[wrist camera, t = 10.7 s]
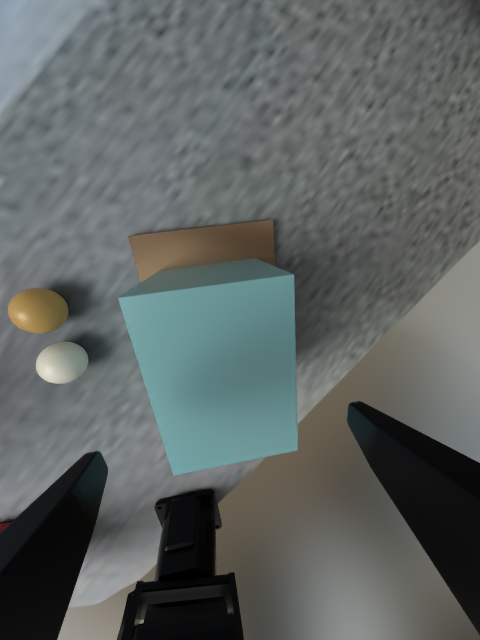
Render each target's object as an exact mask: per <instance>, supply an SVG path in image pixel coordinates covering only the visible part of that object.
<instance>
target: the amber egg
mask: <svg viewBox="0 0 480 640" xmlns="http://www.w3.org/2000/svg"><path fill="white" fill-rule="evenodd" d="M8 314H9V317H10V319H11V321H12V322H13V323H14V324H15V325H16V326H17V327H19V328H20V329H22V330H24V331H27V332H31V333H47V332H51V331H54V330H56V329H58V328H59V327H60V326H62V325H63V324H64V322H65V321H66V319H67V317H68V306H67V303H66V302H65V300H64V299H63V298H62V297H61V296H60V295H59V294H57V293H55V292H53V291H51V290H48V289H42V288H32V289H27V290H24V291H22V292H20V293H18V294H17V295H15V296H14V297H13V298H12V300H11V301H10V303H9V306H8Z"/></svg>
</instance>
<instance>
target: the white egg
mask: <svg viewBox="0 0 480 640" xmlns="http://www.w3.org/2000/svg"><path fill="white" fill-rule="evenodd" d="M87 365H88V355H87V353H86V351H85V350H84V349H83V348H82V347H81V346H79V345H77V344H75V343H72V342H59V343H55V344H52V345H50V346H48V347H46V348H45V349H44V350H43V351H42V352H41V353H40V354H39V356H38V358H37V361H36V370H37V372H38V374H39V375H40V377H41V378H43V379H44V380H46V381H48V382H51V383H55V384H62V383H68V382H71V381H73V380H75V379H77V378H78V377H80V376H81V375H82V374H83V373H84V371H85V370H86V368H87Z"/></svg>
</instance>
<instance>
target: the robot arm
mask: <svg viewBox="0 0 480 640" xmlns="http://www.w3.org/2000/svg"><path fill="white" fill-rule="evenodd" d="M347 421H348V425H349V427H350V429H351V431H352V433H353V435H354V437H355V439H356V440H357V442H358V444H359V446H360V448H361V450H362V451H363V454H364V455H365V457H366V459H367V461H368V463H369V465H370V467H371V468H372V470H373V472H374V473H375V475H376V476H377V478H378V479H379V481H380V483H381V484H382V486H383V487H384V489H385V490H386V492H387V493H388V495H389V496H390V498H391V499H392V501H393V502H394V504H395V506H396V507H397V509H398V510H399V512H400V513H401V515H402V516H403V518H404V519H405V521H406V522H407V524H408V526H409V527H410V529H411V530H412V532H413V533H414V534H415V536H416V538H417V539H418V541H419V543H420V544H421V546H422V547H423V549H424V550H425V552H426V553H427V555H428V556H429V558H430V559H431V561H432V562H433V564H434V566H435V567H436V568H437V570H438V572H439V573H440V575H441V576H442V578H443V579H444V581H445V583H446V584H447V586H448V587H449V588H450V590H451V592H452V593H453V595H454V596H455V598H456V599H457V601H458V602H459V604H460V605H461V607H462V609H463V610H464V611H465V613H466V615H467V616H468V618H469V619H470V621H471V622H472V624H473V626H474V627H475V629H476V630H477V632H478V633H479V635H480V463H479V462H476V461H475V460H473V459H471V458H469V457H467V456H465V455H463V454H461V453H459V452H457V451H456V450H454V449H452V448H450V447H448V446H446V445H444V444H442V443H440V442H438V441H436V440H434V439H432V438H430V437H429V436H427V435H425V434H423V433H421V432H419V431H417V430H415V429H413V428H411V427H409V426H407V425H405V424H404V423H402V422H400V421H398V420H396V419H394V418H392V417H390V416H388V415H386V414H384V413H382V412H380V411H378V410H377V409H374V408H373V407H371V406H368V405H367V404H365V403H363V402H360V401H357V402H352V403H350V404H349V406H348V417H347ZM107 475H108V467H107V465H106V463H105V460H104V458H103V456H102V454H101V452H99V451H95V452H90V453H86V454H85V455H83V456H82V457H81V458H80V459H79V460H78V461H77V462H76V463H75V464H74V465H73V466H71V467H70V468H69V469H68V470H67V471H66V472H65V473H64V474H63V475H62V476H61V477H60V478H59V479H58V480H56V481H55V482H54V483H53V484H52V485H51V486H50V487H49V488H48V489H47V490H46V491H45V492H44V493H43V494H41V495H40V496H39V497H38V498H37V499H36V500H35V501H34V502H33V503H32V504H31V505H30V506H29V507H28V508H26V509H25V510H24V511H23V512H22V513H21V514H20V515H19V516H18V517H17V518H16V519H15V520H14V521H13V522H11V523H10V524H9V525H8V526H7V527H6V528H5V529H4V530H3V531H2V532H1V533H0V640H57V638H58V635H59V632H60V629H61V626H62V623H63V620H64V617H65V614H66V611H67V609H68V606H69V603H70V600H71V597H72V594H73V591H74V588H75V585H76V582H77V579H78V576H79V573H80V570H81V567H82V564H83V561H84V558H85V555H86V552H87V549H88V546H89V543H90V540H91V537H92V534H93V531H94V527H95V524H96V520H97V516H98V512H99V508H100V504H101V500H102V495H103V491H104V487H105V483H106V479H107ZM155 511H156V513H157V516H158V518H159V521H160V523H161V526H162V534H161V540H160V547H159V553H158V559H157V566H156V572H155V579H154V581H152V582H143V581H137V584H136V588H135V590H134V591H132V592H131V593H129V594H128V597H127V602H126V606H125V611H124V615H123V619H122V623H121V627H120V631H119V634H118V638H117V640H244V637H243V629H242V623H241V616H240V609H239V602H238V595H237V588H236V581H235V574H234V572H233V573H228V574H227V575H217V571H216V570H217V569H216V531H215V530H217V529H220V528H221V527H222V524H221V518H220V514H219V509H218V505H217V500H216V496H215V492H214V491H213V490H207V491H203V492H198V493H193V494H189V495H184V496H179V497H175V498H170V499H165V500H161V501H157V502H156V504H155ZM141 619H144V623H143V624H139V623H140V620H141Z"/></svg>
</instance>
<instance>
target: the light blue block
mask: <svg viewBox="0 0 480 640" xmlns="http://www.w3.org/2000/svg"><path fill="white" fill-rule="evenodd" d="M118 300H119V303H120V306H121V309H122V312H123V316H124V319H125V322H126V325H127V328H128V332H129V335H130V338H131V341H132V344H133V348H134V351H135V354H136V357H137V361H138V364H139V367H140V370H141V373H142V377H143V380H144V383H145V386H146V389H147V393H148V396H149V399H150V402H151V405H152V409H153V412H154V415H155V418H156V421H157V425H158V428H159V431H160V434H161V438H162V441H163V444H164V447H165V450H166V454H167V457H168V460H169V463H170V466H171V470H172V473H173V476H175V475H180V474H185V473H190V472H194V471H199V470H204V469H209V468H214V467H219V466H224V465H228V464H233V463H238V462H243V461H248V460H253V459H258V458H262V457H267V456H272V455H277V454H282V453H287V452H292V451H297V450H298V439H297V390H296V342H295V295H294V274H292V273H289V272H287V271H285V270H282V269H280V268H278V267H275V266H273V265H271V264H268V263H266V262H263V261H261V260H259V259H256V258H253V259H245V260H237V261H229V262H221V263H213V264H205V265H197V266H189V267H181V268H173V269H165V270H159V271H158V272H156V273H155V274H153V275H152V276H150V277H149V278H147V279H146V280H144V281H143V282H141V283H140V284H138V285H137V286H135V287H134V288H132V289H131V290H129V291H128V292H126V293H125V294H123V295H122V296H120V297H119V298H118Z"/></svg>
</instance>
